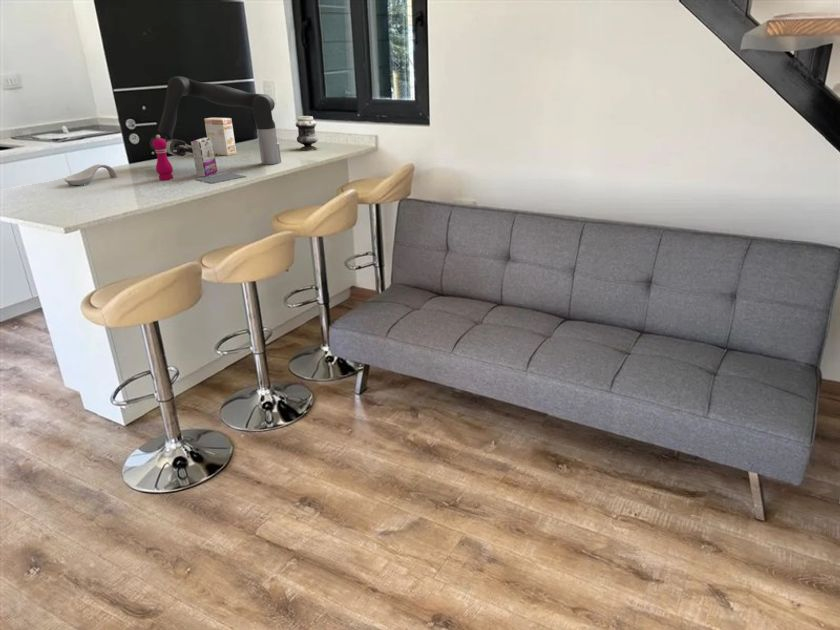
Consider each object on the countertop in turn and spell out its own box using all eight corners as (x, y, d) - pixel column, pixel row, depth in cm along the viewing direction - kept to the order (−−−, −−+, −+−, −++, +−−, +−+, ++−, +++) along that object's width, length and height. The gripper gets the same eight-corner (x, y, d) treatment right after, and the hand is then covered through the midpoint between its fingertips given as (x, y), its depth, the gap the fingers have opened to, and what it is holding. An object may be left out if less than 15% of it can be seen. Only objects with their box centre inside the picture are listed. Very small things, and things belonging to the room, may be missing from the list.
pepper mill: (178, 177, 289) (169, 133, 281) (167, 180, 283) (158, 135, 274) (165, 177, 291) (156, 133, 283) (154, 180, 285) (145, 135, 277)
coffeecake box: (237, 153, 349) (231, 117, 341) (227, 155, 343) (221, 119, 335) (219, 152, 356) (213, 117, 348) (209, 154, 351) (203, 118, 343)
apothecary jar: (316, 150, 351) (313, 117, 344) (295, 151, 351) (292, 118, 344) (320, 147, 362) (317, 115, 355) (299, 147, 362) (296, 115, 355)
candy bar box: (208, 172, 299) (202, 137, 293) (217, 172, 298) (212, 137, 292) (196, 177, 289) (190, 141, 283) (206, 177, 288) (200, 141, 282)
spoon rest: (77, 188, 274) (73, 172, 271) (60, 186, 279) (56, 170, 276) (122, 178, 293) (119, 163, 290) (106, 176, 298) (102, 161, 295)
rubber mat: (230, 173, 295) (229, 172, 294) (246, 176, 286) (246, 176, 286) (195, 179, 283) (195, 179, 283) (211, 183, 274) (211, 182, 274)
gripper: (162, 141, 300) (179, 144, 289) (187, 138, 309) (205, 140, 298) (165, 157, 303) (182, 160, 292) (190, 153, 312) (208, 156, 301)
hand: (194, 150), depth 295 cm, fingers closed
